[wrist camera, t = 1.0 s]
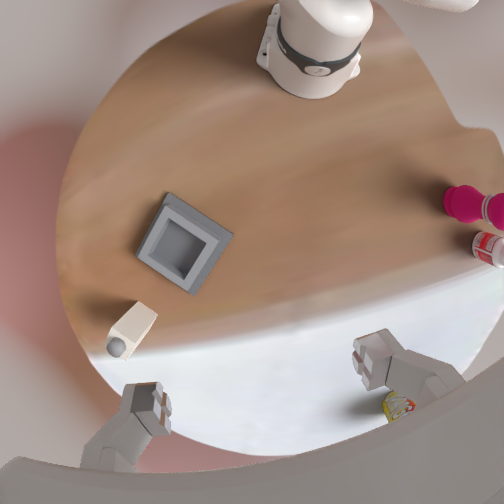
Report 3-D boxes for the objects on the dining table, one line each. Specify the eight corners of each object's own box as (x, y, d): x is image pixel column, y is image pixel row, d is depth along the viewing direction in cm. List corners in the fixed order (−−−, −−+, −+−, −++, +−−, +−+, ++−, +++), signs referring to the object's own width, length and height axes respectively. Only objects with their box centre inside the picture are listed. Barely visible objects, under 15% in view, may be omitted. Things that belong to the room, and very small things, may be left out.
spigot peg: (138, 300, 57) (106, 332, 43) (158, 314, 57) (130, 349, 44) (129, 317, 58) (98, 350, 44) (148, 330, 58) (121, 366, 45)
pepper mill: (445, 224, 49) (509, 246, 29) (437, 190, 47) (503, 199, 28) (469, 212, 48) (533, 230, 28) (461, 179, 46) (528, 185, 27)
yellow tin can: (420, 389, 59) (437, 419, 47) (400, 413, 61) (414, 444, 49) (395, 384, 58) (411, 416, 47) (375, 409, 60) (388, 442, 49)
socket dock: (170, 192, 51) (162, 193, 47) (234, 234, 52) (231, 238, 48) (136, 254, 54) (128, 259, 50) (195, 294, 55) (190, 302, 51)
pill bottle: (488, 256, 50) (517, 270, 39) (470, 259, 50) (500, 274, 39) (489, 229, 48) (521, 240, 37) (471, 231, 49) (503, 242, 38)
